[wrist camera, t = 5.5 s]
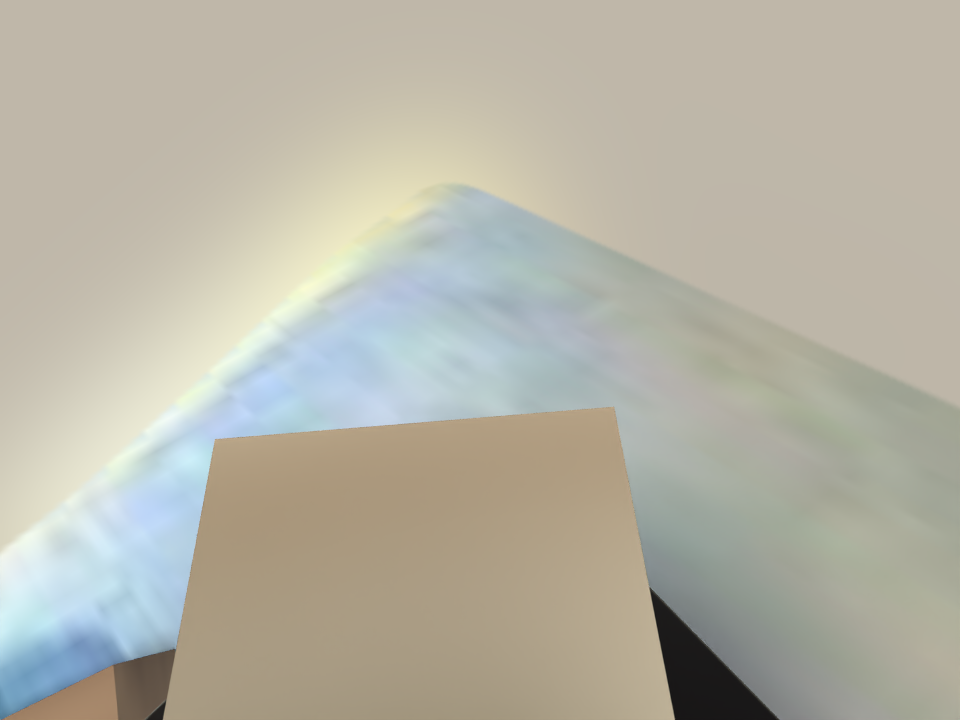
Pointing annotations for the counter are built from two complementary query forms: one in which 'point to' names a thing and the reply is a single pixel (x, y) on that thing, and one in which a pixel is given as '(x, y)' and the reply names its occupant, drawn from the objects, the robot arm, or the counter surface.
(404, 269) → the counter surface
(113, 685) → the walnut plinth
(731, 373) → the counter surface
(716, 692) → the robot arm
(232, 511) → the birch post
